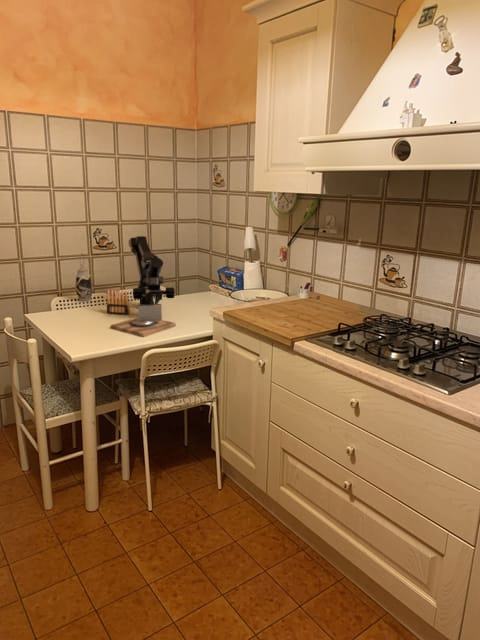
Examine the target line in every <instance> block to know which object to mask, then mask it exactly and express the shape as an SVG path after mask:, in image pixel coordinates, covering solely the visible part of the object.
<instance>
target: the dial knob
mask: <svg viewBox="0 0 480 640" xmlns="http://www.w3.org/2000/svg"><path fill="white" fill-rule="evenodd" d="M137 309H138V311H137V312H138V313H137V314H138V316H137V317H139V318H136V317H135V318H136V319H133V318H132V319H133V320H132V325H134V326H151V325H153V324H155V321H162V320H163V319H162V318H163V317H162V316H163V315H162V304H161V303H158V304H155V303H154V304H149V305H140V304H137Z"/></svg>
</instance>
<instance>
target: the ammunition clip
mask: <svg viewBox="0 0 480 640" xmlns="http://www.w3.org/2000/svg"><path fill="white" fill-rule="evenodd" d="M106 292H107V293H106V294H107V296H106V303H107V304H106V314H107V315H116V316H117V315H118V316H129V315H130V305H129V297H128V296H129V295H128V291H127V290H125V291H124V290H121V291H120V290H118V291H117V290H116V289H115V290H114V291H113V289H111V290H110V289H107V291H106Z"/></svg>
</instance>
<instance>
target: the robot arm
mask: <svg viewBox="0 0 480 640" xmlns="http://www.w3.org/2000/svg"><path fill="white" fill-rule="evenodd" d="M128 247H130V248H129V249H130V251H131V252H132V254H133V255H134V257H135V261H136V266H137V271H138V275H139V281H138V286H137V287H134V288H133V289H132V295H133V299H134V300H139V305H149V304H159V303H160V301H161V300H163V295H164V296H165V297H166V299H174V298H175V294H176V291H175V287H173V286H169V287H168V286H167V287H165V290H164V289H163V290H162V289H161V285H164V276H160V273H162V270H163V266H164V261H163V259H161V258H160V257H158V255H155V254H154V253H153V252H152V251H151V248H150V245H149V243H148V238H147V237H146V236H145V235H143V236H142V235H140V236H139V235H137V236H135V237H130V239H128Z"/></svg>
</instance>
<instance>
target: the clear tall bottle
mask: <svg viewBox="0 0 480 640" xmlns="http://www.w3.org/2000/svg"><path fill="white" fill-rule="evenodd" d="M81 255H82V258H83V260H85V256H84V255H83V253H80V255H79V258H81ZM79 264H80V268H79V269H77V275H75V277H76V278H75V290H76V291H75V292H76V295H77V298H78V297H79V301H78V302H90V301H91V300H92V296H93V295H92V293H93V291H92V281H91V279H92V276H91V274H89V272H88V271H89V269H87V268H86V267H85V266H84V264H85V261H83V263H81V261H79Z"/></svg>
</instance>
